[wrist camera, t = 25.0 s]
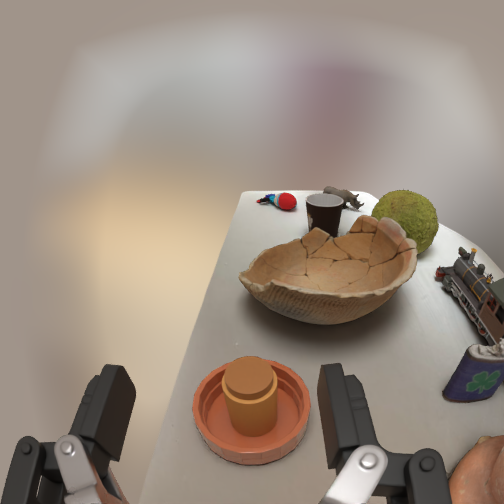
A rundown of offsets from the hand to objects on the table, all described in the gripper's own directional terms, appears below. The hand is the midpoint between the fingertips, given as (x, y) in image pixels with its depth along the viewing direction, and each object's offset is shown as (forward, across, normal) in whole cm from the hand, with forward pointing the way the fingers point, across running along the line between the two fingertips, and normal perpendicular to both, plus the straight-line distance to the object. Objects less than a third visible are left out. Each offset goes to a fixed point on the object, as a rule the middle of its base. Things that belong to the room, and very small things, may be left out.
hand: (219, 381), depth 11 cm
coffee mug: (+58, -17, +24) cm, 65 cm away
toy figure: (+79, -8, +24) cm, 83 cm away
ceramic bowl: (+34, -13, +24) cm, 44 cm away
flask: (+9, -30, +24) cm, 40 cm away
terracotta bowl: (+11, 0, +24) cm, 26 cm away
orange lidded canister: (+11, 0, +23) cm, 26 cm away
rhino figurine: (+75, -27, +24) cm, 84 cm away
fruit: (+51, -35, +24) cm, 66 cm away
